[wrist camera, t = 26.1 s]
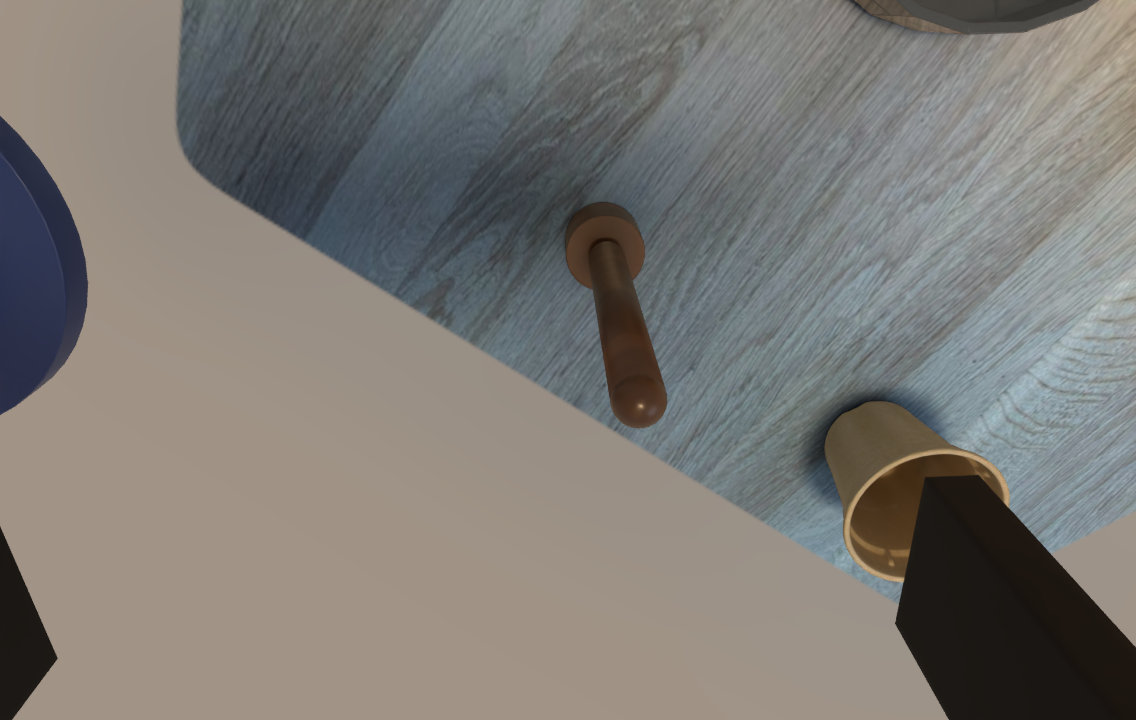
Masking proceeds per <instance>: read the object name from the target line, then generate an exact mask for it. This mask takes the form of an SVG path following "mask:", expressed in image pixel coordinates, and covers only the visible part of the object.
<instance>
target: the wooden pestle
mask: <svg viewBox="0 0 1136 720" xmlns="http://www.w3.org/2000/svg"><path fill="white" fill-rule="evenodd" d="M565 249H566V260H567V265H568V267H569V270H570V272H571V273H572V275H573V276H574V278H575V279H576V280H577V281H578V282H579V283H581V284H582V285H584V286H585V287H587V288H590V289H592V290H593V294H594V300H595V307H596V313H597V320H598V326H599V333H600V339H601V345H602V352H603V358H604V365H605V371H606V378H607V384H608V390H609V397H610V403H611V408H612V410H613V413H614V414H615V416H616V417H617V418H618V420H619V421H620V422H622V423H623V424H625V425H627V426H629V427H633V428H645V427H649V426H651V425H653V424H655V423H656V422H657V421H658V420H659V419H660V418H661V417H662V416H663V414H664V412H665V410H666V406H667V393H666V390H665V386H664V383H663V380H662V377H661V373H660V370H659V367H658V363H657V360H656V357H655V353H654V350H653V347H652V343H651V340H650V337H649V334H648V330H647V327H646V324H645V320H644V317H643V314H642V310H641V307H640V304H639V301H638V297H637V294H636V291H635V287H634V284H633V281H632V280H633V279H634V278H635V277H636V276H637V275H638V273H639V272H640V270H641V268H642V265H643V262H644V258H645V246H644V242H643V239H642V236H641V234H640V231H639V229H638V226H637V224H636V222H635V220H634V218H633V217H632V216H631V214H630V213H629V212H628V211H626V210H625V209H624V208H622V207H620V206H618V205H616V204H612V203H606V202H600V203H594V204H591V205H588V206H586V207H584V208H582V209H581V210H579V211H578V212H577V213H576V214H575V215H574V216H573V218H572V219H571V220H570V222H569V224H568V226H567V229H566V233H565Z"/></svg>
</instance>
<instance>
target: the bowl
mask: <svg viewBox="0 0 1136 720" xmlns="http://www.w3.org/2000/svg"><path fill="white" fill-rule="evenodd" d="M854 1H856V2H857V3H858V4H859V5H860V6H861V7H863V8H864V9H865V10H866V11H867V12H868V13H870V14H872V15H873V16H876V17H879V18H882V19H884V20H887V21H890V22H893V23H896V24H899V25H902V26H905V27H908V28H911V29H914V30H918V31H928V32H941V33H954V34H967V35H970V34H998V33H1023V32H1027V31H1030V30H1033V29H1036V28H1038V27H1041V26H1044V25H1047V24H1049V23H1052V22H1055V21H1058V20H1060V19H1063V18H1066V17H1069V16H1071V15H1074V14H1077V13H1080V12H1082V11H1084V10H1086V9H1088V8H1089V7H1090V6H1092V5H1093V4H1095V3H1096V2H1098V1H1099V0H854Z"/></svg>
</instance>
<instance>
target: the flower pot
mask: <svg viewBox="0 0 1136 720" xmlns="http://www.w3.org/2000/svg"><path fill="white" fill-rule="evenodd" d="M824 449H825V456H826V460H827V463H828V465H829V467H830V470H831V473H832V476H833V478H834V481H835V484H836V487H837V490H838V493H839V496H840V499H841V502H842V505H843V517H844V521H843V537H844V542H845V544H846V547H847V550H848V552H849V553H850V555H851V556H852V558H853V559H854V561H855V562H856V563H857V564H858V565H859V566H860V567H861V568H863V569H864V570H865V571H867V572H869V573H870V574H872V575H874V576H877V577H880V578H882V579H885V580H889V581H899V582H904V578H905V573H906V568H907V563H908V558H909V553H910V548H911V543H912V538H913V533H914V529H915V524H916V519H917V514H918V509H919V504H920V499H921V494H922V489H923V484H924V479H925V477H939V476H964V475H979V476H980V477H981V478H982V479H983V480H984V481H985V482H986V483H987V485H988V486H989V487H990V488H991V489H992V490H993V491H994V492H995V493H996V494H997V496H998V497H999V498H1000V499H1001V500H1002V501H1003V502H1004V503H1005V504H1006V505H1007V507H1008V508H1009V501H1010V499H1009V497H1010V495H1009V489H1008V486H1007V484H1006V481H1005V479H1004V477H1003V475H1002V474H1001V472H1000V471H999V470H998V469H997V468H996V467H995V466H994V465H993V464H992V463H990V462H989V461H988V460H986V459H985V458H983V457H982V456H979V455H977V454H975V453H973V452H970V451H967V450H963V449H960V448H958V447H956V446H953V445H950V444H949V443H948V442H947V441H945V440H944V439H943V438H942V437H940V436H939V435H938V434H936V433H935V432H934V431H933V430H931V429H930V428H929V427H927V426H926V425H925V424H923V423H922V422H921V421H920V420H918V419H917V418H916V417H915V416H913V415H912V414H911V413H910V412H908V411H907V410H906V409H905V408H903V407H901V406H899V405H897V404H894V403H891V402H885V401H872V402H866V403H864V404H863V405H861V406H859V407H857V408H855V409H853V410H851V411H848V412H845V413H843V414H842V415H841V416H840V417H839V418H838V419H837V420H836V421H835V422H834V423H833V425H832V426H831V428H830V429H829V431H828V434H827V437H826V440H825V448H824Z"/></svg>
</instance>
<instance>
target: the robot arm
mask: <svg viewBox="0 0 1136 720" xmlns="http://www.w3.org/2000/svg"><path fill="white" fill-rule="evenodd" d="M895 624H896V626H897V628H898V630H899V631H900V633H901V635H902V637H903V638H904V640H905V642H906V644H907V646H908V647H909V649H910V651H911V653H912V655H913V656H914V658H915V660H916V662H917V664H918V665H919V667H920V669H921V671H922V673H923V674H924V676H925V678H926V680H927V682H928V683H929V685H930V687H931V689H932V691H933V692H934V694H935V696H936V698H937V699H938V701H939V703H940V705H941V706H942V708H943V710H944V712H945V713H946V716H947V717H948V719H949V720H1136V647H1135V646H1134V645H1133V644H1132V643H1131V642H1130V641H1129V640H1128V638H1127V637H1126V636H1125V635H1124V634H1123V633H1122V632H1121V631H1120V630H1119V629H1118V627H1117V626H1116V625H1115V624H1114V623H1113V622H1112V621H1111V620H1110V619H1109V618H1108V616H1107V615H1106V614H1105V613H1104V612H1103V611H1102V610H1101V609H1100V608H1099V607H1098V605H1097V604H1095V602H1094V601H1093V600H1092V599H1091V598H1090V597H1089V596H1088V595H1087V593H1086V592H1085V591H1084V590H1083V589H1082V588H1081V587H1080V586H1079V585H1078V584H1077V582H1076V581H1075V580H1074V579H1073V578H1072V577H1071V576H1070V575H1069V574H1068V573H1067V571H1066V570H1065V569H1064V568H1063V567H1062V566H1061V565H1060V564H1059V563H1058V562H1057V561H1056V559H1055V558H1054V557H1053V556H1052V555H1051V554H1050V553H1049V552H1048V551H1047V549H1046V548H1045V547H1044V546H1043V545H1042V544H1041V543H1040V542H1039V541H1038V540H1037V538H1036V537H1035V536H1034V535H1033V534H1032V533H1031V532H1030V531H1029V530H1028V529H1027V527H1026V526H1025V525H1024V524H1023V523H1022V522H1021V521H1020V520H1019V519H1018V518H1017V516H1016V515H1015V514H1014V513H1013V512H1012V511H1011V510H1010V509H1009V508H1008V507H1007V505H1006V504H1005V503H1004V502H1003V501H1002V500H1001V499H1000V498H999V497H998V496H997V494H996V493H995V492H994V491H993V490H992V489H991V488H990V487H989V486H988V485H987V483H986V482H985V481H984V480H983V479H982V478H981V477H980V476H979V475H964V476H939V477H925V479H924V484H923V489H922V494H921V499H920V504H919V509H918V514H917V519H916V524H915V529H914V533H913V538H912V543H911V548H910V553H909V558H908V563H907V568H906V573H905V578H904V583H903V588H902V593H901V597H900V602H899V607H898V612H897V617H896V622H895ZM56 660H57V656H56V654H55V651H54V649H53V647H52V644H51V642H50V640H49V638H48V635H47V633H46V631H45V628H44V626H43V624H42V622H41V619H40V617H39V615H38V612H37V610H36V608H35V605H34V603H33V601H32V599H31V596H30V594H29V592H28V589H27V587H26V585H25V582H24V580H23V578H22V576H21V573H20V571H19V569H18V566H17V564H16V562H15V559H14V557H13V555H12V553H11V550H10V548H9V546H8V544H7V541H6V539H5V536H4V534H3V532H2V530H1V527H0V720H12V719H13V718H14V716H15V715H16V714H17V712H18V711H19V710H20V708H21V707H22V706H23V704H24V703H25V701H26V700H27V699H28V698H29V696H30V695H31V694H32V692H33V691H34V690H35V688H36V687H37V685H38V684H39V683H40V682H41V680H42V679H43V677H44V676H45V675H46V673H47V672H48V671H49V669H50V668H51V667H52V665H53V664H54V663H55V661H56Z"/></svg>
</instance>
